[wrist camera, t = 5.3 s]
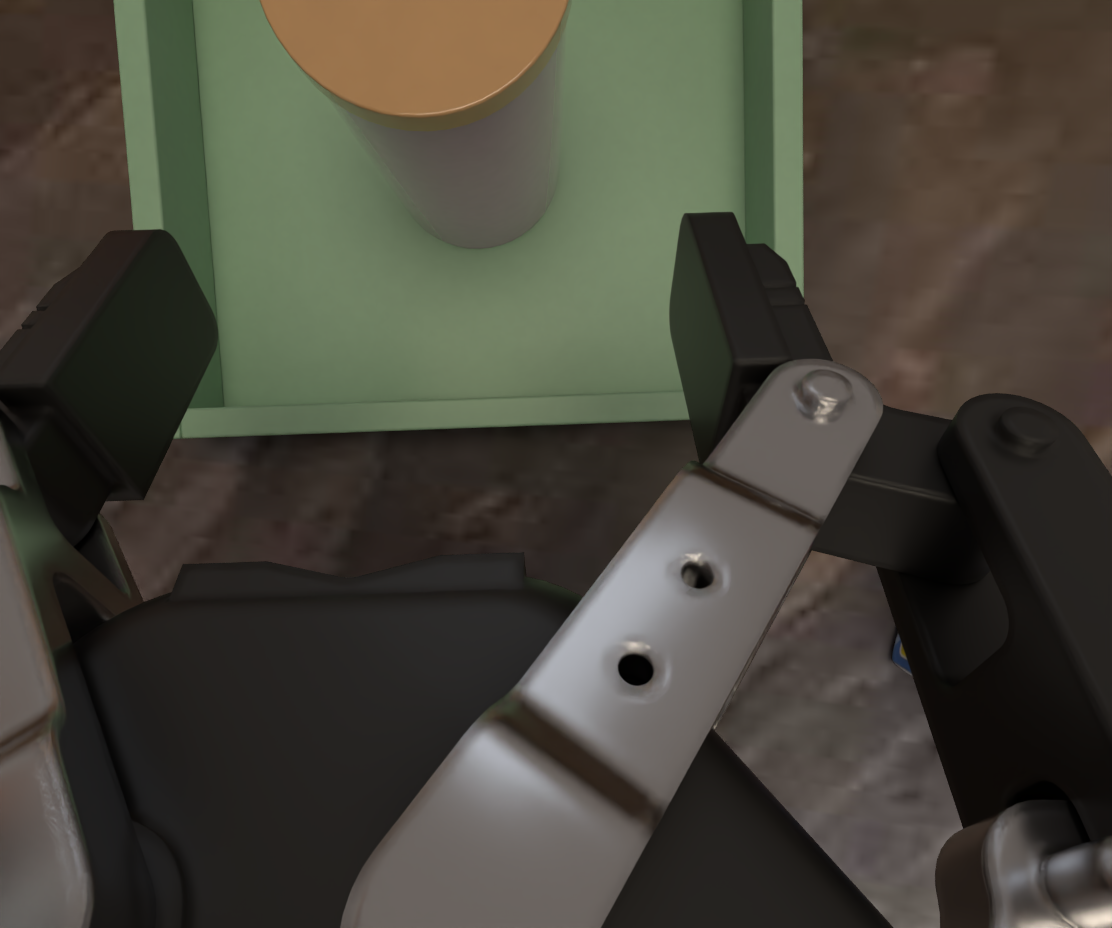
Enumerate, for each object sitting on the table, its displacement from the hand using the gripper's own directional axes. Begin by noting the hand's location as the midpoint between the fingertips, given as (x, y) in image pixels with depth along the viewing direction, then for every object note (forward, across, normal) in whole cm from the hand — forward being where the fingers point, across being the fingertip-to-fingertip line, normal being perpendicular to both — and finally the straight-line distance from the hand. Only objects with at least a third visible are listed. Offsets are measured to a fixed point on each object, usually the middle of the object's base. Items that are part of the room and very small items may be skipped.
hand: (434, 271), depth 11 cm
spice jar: (+10, 0, +3) cm, 10 cm away
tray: (+10, 0, +3) cm, 10 cm away
